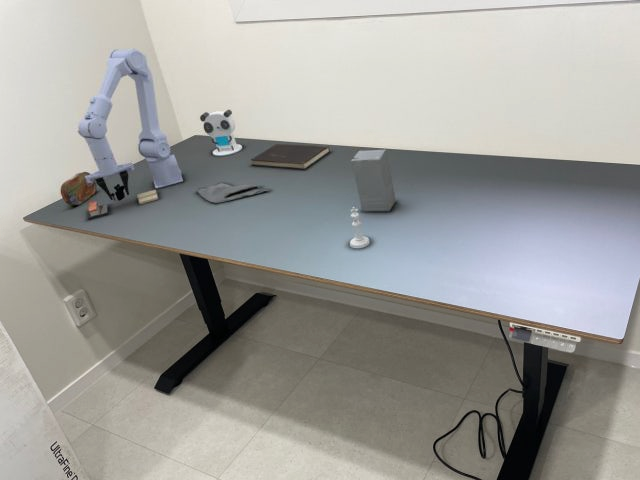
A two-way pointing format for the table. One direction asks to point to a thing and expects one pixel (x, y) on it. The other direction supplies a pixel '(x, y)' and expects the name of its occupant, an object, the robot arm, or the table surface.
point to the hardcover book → (290, 156)
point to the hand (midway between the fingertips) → (120, 196)
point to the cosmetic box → (373, 180)
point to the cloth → (228, 192)
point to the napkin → (147, 196)
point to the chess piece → (358, 232)
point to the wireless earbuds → (118, 192)
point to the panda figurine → (221, 131)
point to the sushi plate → (97, 210)
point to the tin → (77, 189)
